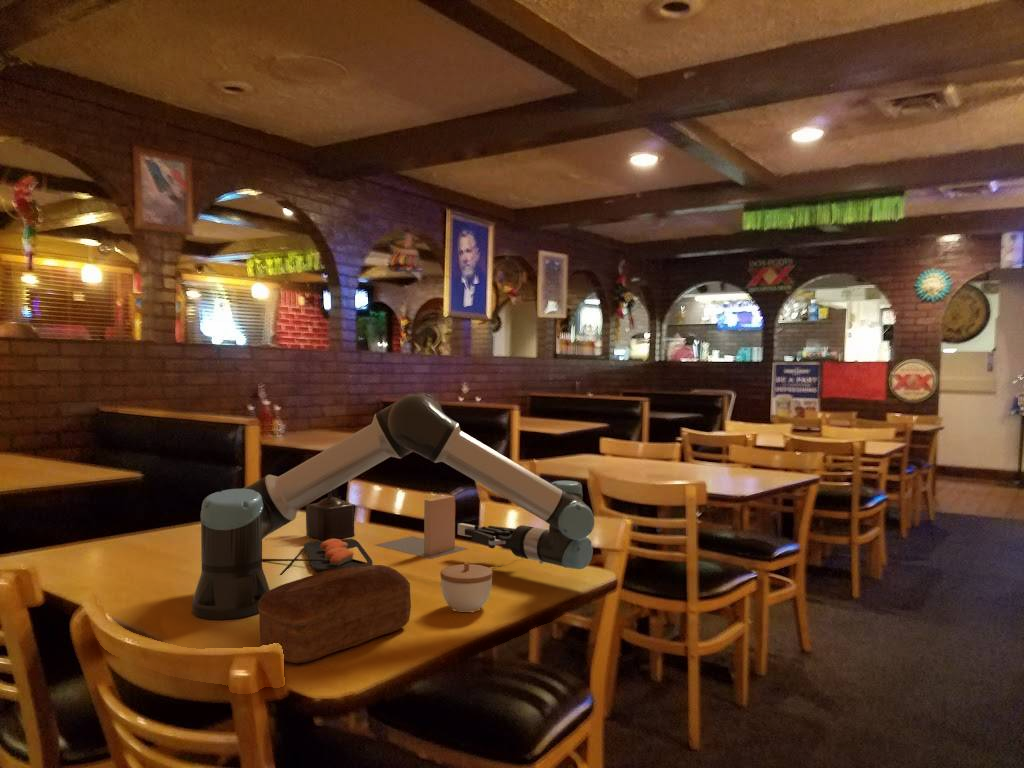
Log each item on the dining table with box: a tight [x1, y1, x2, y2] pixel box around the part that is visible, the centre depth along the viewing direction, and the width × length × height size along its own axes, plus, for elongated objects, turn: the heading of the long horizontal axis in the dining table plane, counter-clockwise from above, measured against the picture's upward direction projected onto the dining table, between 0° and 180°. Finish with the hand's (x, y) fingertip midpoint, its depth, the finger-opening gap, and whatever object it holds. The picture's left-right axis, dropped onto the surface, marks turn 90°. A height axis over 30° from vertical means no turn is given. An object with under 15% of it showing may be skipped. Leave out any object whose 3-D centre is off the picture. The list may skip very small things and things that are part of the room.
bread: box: [258, 564, 412, 664], centre depth 134 cm, size 14×28×12 cm, turn 140°
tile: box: [423, 495, 456, 555], centre depth 195 cm, size 2×9×14 cm, turn 141°
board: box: [375, 535, 469, 560], centre depth 200 cm, size 22×14×1 cm, turn 51°
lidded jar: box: [440, 562, 494, 612], centre depth 152 cm, size 11×11×9 cm
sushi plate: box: [262, 538, 373, 576], centre depth 188 cm, size 29×30×4 cm
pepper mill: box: [305, 490, 355, 541], centre depth 217 cm, size 16×11×18 cm
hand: (459, 528), depth 190 cm, fingers closed
